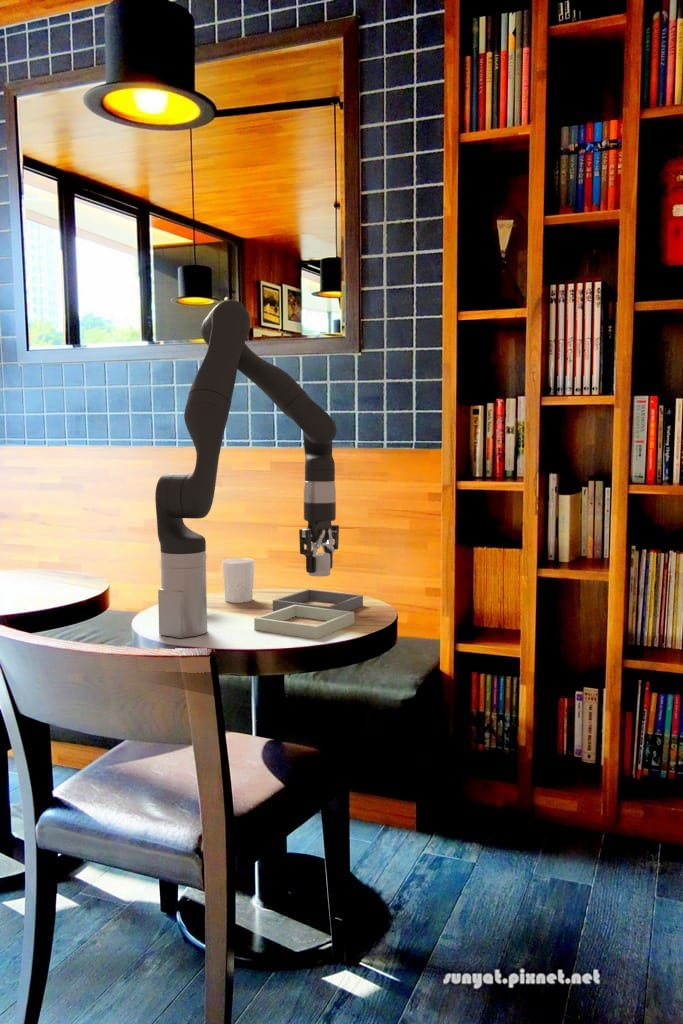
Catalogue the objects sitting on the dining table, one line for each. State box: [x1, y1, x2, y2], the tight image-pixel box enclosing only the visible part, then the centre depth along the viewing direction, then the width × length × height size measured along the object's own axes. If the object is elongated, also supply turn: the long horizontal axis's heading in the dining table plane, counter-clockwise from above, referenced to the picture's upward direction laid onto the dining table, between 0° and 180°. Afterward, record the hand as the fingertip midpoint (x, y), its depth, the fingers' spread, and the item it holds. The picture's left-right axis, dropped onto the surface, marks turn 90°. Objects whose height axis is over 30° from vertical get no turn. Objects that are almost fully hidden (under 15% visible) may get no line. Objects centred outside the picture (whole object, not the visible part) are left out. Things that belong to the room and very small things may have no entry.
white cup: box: [221, 557, 255, 604], centre depth 204 cm, size 8×8×10 cm
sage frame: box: [253, 605, 355, 640], centre depth 177 cm, size 16×16×2 cm
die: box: [308, 552, 331, 578], centre depth 193 cm, size 5×5×5 cm
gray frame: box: [272, 588, 364, 612], centre depth 195 cm, size 16×16×2 cm
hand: (319, 570), depth 194 cm, fingers closed on die, 7 cm apart
